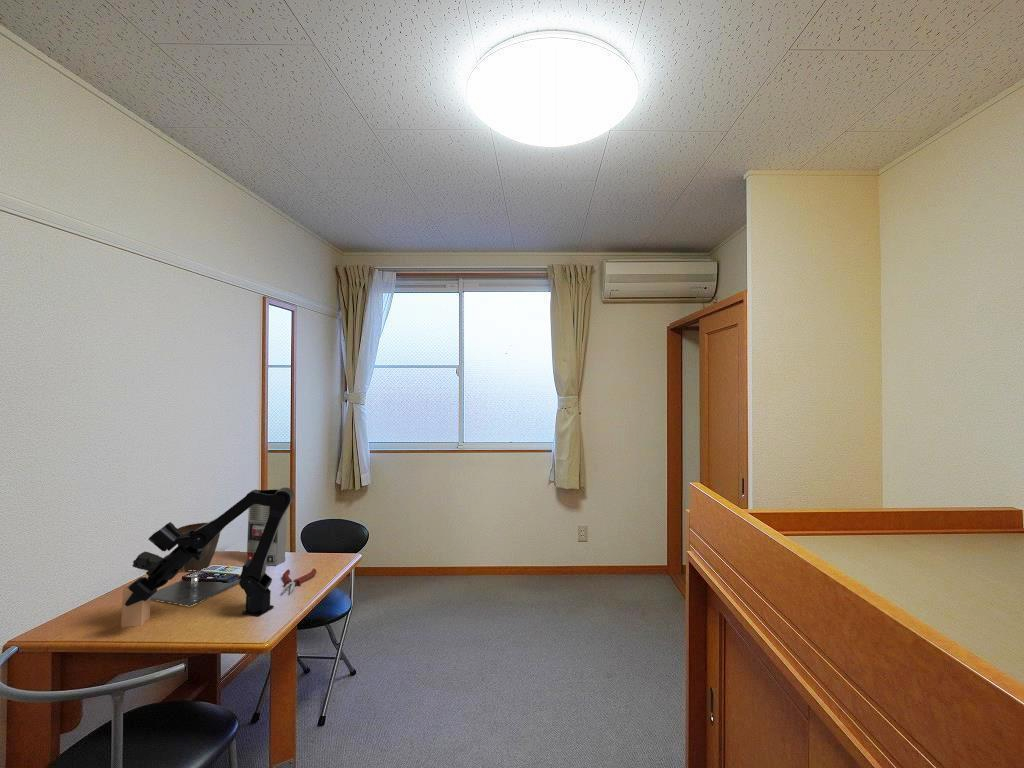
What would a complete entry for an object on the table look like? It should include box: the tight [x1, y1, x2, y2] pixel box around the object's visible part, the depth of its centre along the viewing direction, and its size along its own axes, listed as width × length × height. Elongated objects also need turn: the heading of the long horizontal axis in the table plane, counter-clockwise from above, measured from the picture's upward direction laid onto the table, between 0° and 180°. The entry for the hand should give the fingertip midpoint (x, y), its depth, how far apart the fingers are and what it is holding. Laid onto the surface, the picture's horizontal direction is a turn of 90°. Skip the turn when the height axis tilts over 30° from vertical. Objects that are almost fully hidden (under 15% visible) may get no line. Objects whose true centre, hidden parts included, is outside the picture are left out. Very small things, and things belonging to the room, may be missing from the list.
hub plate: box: [151, 573, 240, 606], centre depth 158 cm, size 20×20×6 cm
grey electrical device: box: [244, 504, 288, 566], centre depth 186 cm, size 14×6×25 cm, turn 82°
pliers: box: [280, 568, 317, 595], centre depth 165 cm, size 12×20×3 cm, turn 10°
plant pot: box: [177, 522, 221, 571], centre depth 178 cm, size 15×15×16 cm
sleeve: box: [120, 582, 152, 629], centre depth 135 cm, size 5×5×11 cm
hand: (131, 600), depth 135 cm, fingers open, 5 cm apart
